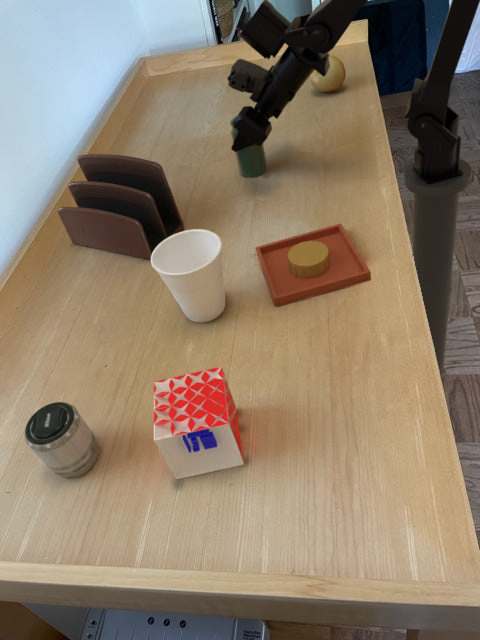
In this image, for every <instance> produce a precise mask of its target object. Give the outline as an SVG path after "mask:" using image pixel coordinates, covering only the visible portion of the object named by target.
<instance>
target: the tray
mask: <svg viewBox="0 0 480 640" xmlns="http://www.w3.org/2000/svg"><path fill="white" fill-rule="evenodd" d="M305 241H317V242H321V243H323V244H324V245H326V246H327V248H328V252H329V256H330V264H329V267H328V269H327V270H326V271H325V272H324V273H322V274H321V275H319V276H316V277H312V278H302V277H298V276H296V275H294V274H293V273H292V272H291V270H290V268H289V263H288V253H289V251H290V249H291V248H292V247H293V246H295V245H297V244H299V243H301V242H305ZM254 249H255V253H256V256H257V259H258V262H259V265H260V268H261V270H262V273H263V276H264V279H265V281H266V284H267V287H268V289H269V293H270V296H271V298H272V300H273V303H274V307H280V306H283V305H287V304H291V303H294V302H298V301H301V300H305V299H309V298H312V297H316V296H320V295H324V294H327V293H331V292H334V291H337V290H341V289H345V288H349V287H352V286H356V285H359V284H362V283H366V282H370V281H372V273H371V270H370V268H369V267H368V265H367V263H366V261H365V260H364V258H363V257H362V255H361V253H360V251H358V249H357V247H356V245H355V244H354V242H353V241H352V239H351V237H350V236H349V234H348V232H347V231H346V229H345V227H344V226H343V224H342V223H341V222H340V223H337V224H333V225H329V226H326V227H323V228H319V229H314V230H311V231H308V232H305V233H300V234H298V235H294V236H291V237H287V238H284V239H283V238H282V239H280V240H276V241H272V242H269V243H265V244H262V245H259V246H255V247H254Z"/></svg>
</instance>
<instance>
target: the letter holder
mask: <svg viewBox="0 0 480 640" xmlns="http://www.w3.org/2000/svg"><path fill="white" fill-rule="evenodd" d="M77 164H78V165H79V167H80V169H81V172H82V174H83V176H84V178H85V179H86V180H83V181H82V180H79V181H70V182H68V186H67V187H68V190H69V192H70V194H71V196H72V198H73V200H74V203H75V204H76V206H61V207H59V208H57V214H58V217H59V218H60V220H61V223H62V225H63V226H64V228H65V231H66V233H67V236H68V237H69V240H70V241H71V243H72V244H76V245H80V246H82V247H83V246H84V247H89V248H92V249H93V248H94V249H99V250H103V251H108V252H113V253H117V254H121V255H126V256H130V257H135V258H141V259H145V260H150V261H151V255H152V252H153V251H154V249H155V248H156V247H157V246H158V245H159V244H160V243H161V242H162V241H163V240H165V239H166V238H168V237H170V236H172V235H174V234H176V233H179V232H182V231H184V229H185V223H184V221H183V219H182V216H181V214H180V211H179V209H178V206H177V202H176V201H175V198H174V195H173V192H172V189H171V187H170V184H169V182H168V179H167V177H166V174H165V171H164V169H163V167H162V165H161V164H160V163H158V162H156V161H153V160H148V159H145V158H141V157H136V156H130V155H121V154H106V153H93V154H92V153H90V154H89V153H87V154H81V155H78V156H77Z"/></svg>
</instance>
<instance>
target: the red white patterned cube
mask: <svg viewBox="0 0 480 640" xmlns="http://www.w3.org/2000/svg"><path fill="white" fill-rule="evenodd" d="M239 423H240V422H239V415H238V408H237V406H236V403H235V400H234V397H233V394H232V391H231V388H230V386H229V383H228V380H227V377H226V374H225V371H224V369H223V366H218V367H213V368H208V369H204V370H200V371H195V372H191V373H187V374H183V375H178V376H173V377H170V378H165V379H160V380H157V381H153V442H154V444H155V446H156V447H157V450H158V451H159V453H160V454H161V456H162V458H163V460H164V461H165V464H166V466H168V469H169V470H170V473H171V474H172V476H173V477H174V480H181V479H186V478H189V477H194V476H199V475H203V474H204V475H205V474H208V473H213V472H217V471H222V470H226V469H230V468H234V467H240V466H244V465H245V458H244V451H243V445H242V438H241V429H240V424H239Z"/></svg>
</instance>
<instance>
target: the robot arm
mask: <svg viewBox="0 0 480 640" xmlns="http://www.w3.org/2000/svg"><path fill="white" fill-rule="evenodd" d="M368 2H369V0H323V1H322V2H320V3H319V4H317V6H316V7H315V8H314V9H313V11H312V12H309V13H305V14H302V15H298V16H295V17H294V18H293V19H292V20H291V21H290V20H288V19H287V18H286V17H285V16H284V15H283V14H282V13H281V12H279V11H278V10H277V9H276V8H275V6H274V4H272V3H271V2H270V1H269V0H263V1H262V2H261V3H260V4H259V7H258V8H257V9H256V10H255V12H254V13H253V15H252V16H251V17H250V19H248V20H247V22H246V23H245V24H244V26H243V28H242V29H241V31H240V33H239V36H238V37H239V38H240V39H241V40H243V42H245V43H246V45H248V46H249V47H251V48H252V49H253V50H254V51H255V52H256V53H258V54H259V55H260V56H261V57H262V58H264V59H267V60H270V59H271V57H272V58H273V59H275V58H276V57H277V55H278V54H279V52H280V51H281V50H282V48H283V47H284V45H287V47H286V48H285V50H284V51H283V53H282V54H281V55H280V57H279V58H278V60H277V61H276V62H275V64H274V65H273V64H272V65H270V68H269V69H267V68H264V67H262V66H261V65H259V64H256V63H254V62H251V61H248V60H246V59H243V58H238V59H236V61H235V62H234V63H233V64H232V66H231V68H230V73H229V75H228V76H227V81H228V83H227V85H228V86H229V87H230V88H231V89H232V90H236V91H237V92H240V93H244V92H245V93H247V94H250V96H249V99H250V100H251V101H252V102H253V103H255V105H254V107H253V106H252V105H243V107H242V108H241V109H240V111H238V114H237V115H236V116H237V117H236V116H235V117H236V118H235V120H234V121H233V122H232V124H233V126H234V127H235V128H236V129H237V130H238V132H237V135H236V137H235V140H234V142H233V141H232V145H231V147H230V149H231V151H233V152H234V153H235V152H237V151H240V150H242V149H245V148H247V147H250V146H252V145H255V144H256V145H257V146H261V145H262V144H263V145H264V144H265V142H266V140H267V139H268V137H269V136H270V134H271V133H272V131H273V128H272V122H271V121H270V119H271V118H273V117H274V118H275V119H276V120H278V119H279V117H280V116H281V114H282V113H283V111H284V109H285V108H286V107H287V106H288V104H289V103H291V102H292V101H293V100H294V98H295V97H296V95H297V93H298V92H299V90H300V89H301V88H302V86H303V85H304V84H305V83H306V82H307V80H308V79H309V78H310V75H311V74H312V72H313V71H314V70H316V71H317V72H318V73H319V74H321V75H322V76H325V75H326V73H327V72H328V70H329V68H330V64H329V55H330V53H329V52H331V51H332V50H333V49H334V48H335V47H336V45H337V44H338V42H339V41H340V39H341V38H342V37H343V35H344V34H345V33H346V31H347V29H348V28H349V27H350V25H351V24H352V22H353V20H354V19H355V18H356V16H357V15H358V13H359V12H360V10H361V9H362V8H363V7H364V6H365V5H366V4H367V3H368ZM479 5H480V0H451V3H450V6H449V9H448V12H447V15H446V19H445V21H444V25H443V27H442V31H441V33H440V37H439V40H438V43H437V46H436V50H435V54H434V55H433V56H434V57H433V60H432V63H431V66H430V69H429V71H428V73H427V74H426V76H425V78H424V80H423V79H420V78H418V77H417V78H415V80H414V84H413V88H412V92H411V96H410V98H409V99H408V102H407V108H406V110H405V114H404V119H405V120H406V119H407V124H406V126H407V127H406V128H407V130H408V132H409V133H410V135H411V136H413V137H414V138H415V139H417V149H415V150H414V159H413V160H414V161H413V162H414V166H413V170H414V171H415V172H416V173H417V174H418V175H419V177H421V178H422V179H423V180H424V182H425V183H426V184H433V183H436V182H440V181H444V180H447V179H451V178H454V177H458V176H461V175H463V171H462V170H461V169H460V168H459V158H460V156H461V147H462V146H461V145H462V137H461V136H460V135H459V128H460V120H461V115H460V114H459V113H457V112H456V111H455V110H454V109H453V108H452V107H451V106H450V105H449V100H450V93H451V87H452V82H453V79H454V76H455V73H456V72H457V71H456V70H457V69H458V65H459V62H460V59H461V56H462V53H463V52H464V48H465V45H466V43H467V39H468V36H469V34H470V31H471V28H472V25H473V22H474V20H475V16H476V13H477V10H478V8H479ZM460 159H461V158H460Z"/></svg>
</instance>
